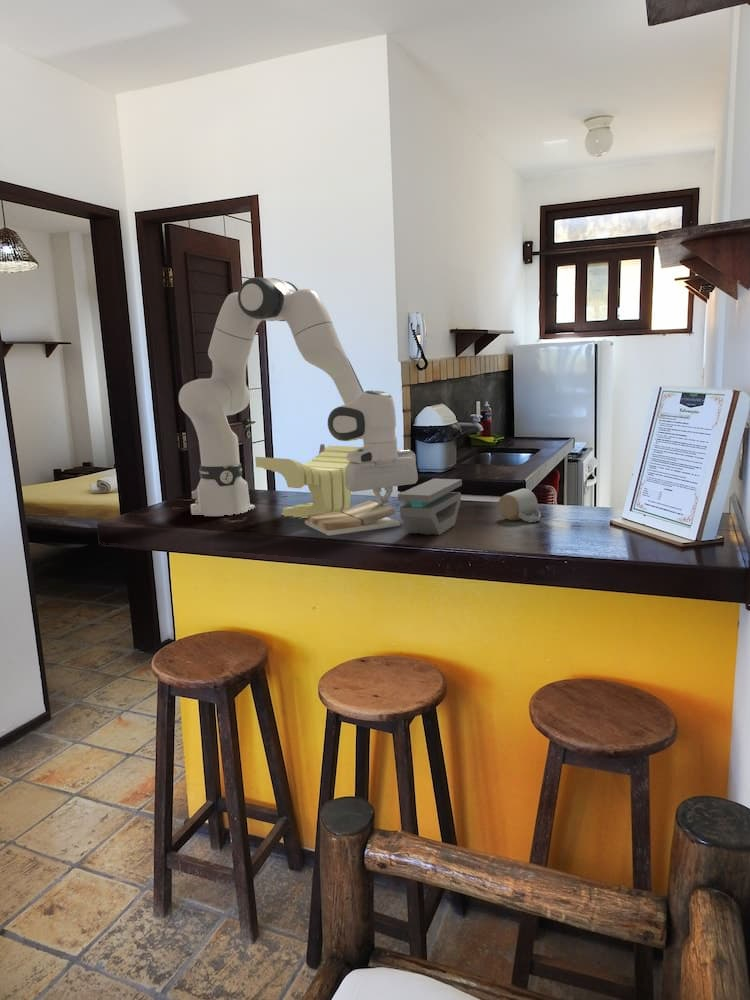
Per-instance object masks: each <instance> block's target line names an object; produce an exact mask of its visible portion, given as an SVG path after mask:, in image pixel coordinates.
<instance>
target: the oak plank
mask: <svg viewBox="0 0 750 1000" xmlns="http://www.w3.org/2000/svg"><path fill="white" fill-rule="evenodd" d="M307 520H308V521H309V522H311V523H313V524H315V525H317V526H319V527H322V528H324V529H326V530H328V531H331V530H338V529H345V528H352V527H360V526H361V520H359V519H356V518H354V517H351V516H349V515H346V514H344V513H341V512H332V513H324V514H316V515H308V519H307Z"/></svg>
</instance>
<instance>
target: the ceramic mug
mask: <svg viewBox="0 0 750 1000" xmlns="http://www.w3.org/2000/svg"><path fill="white" fill-rule="evenodd" d="M538 506H539V503H538V499H537V496H536V495H535V493H534V491H533V492H532V490H530V489H528V488H520V489H517V490H514V491H511V492H507V493H506V494H505V493H504V495H502V496H501V497H500V498H499V500H498V504H497V508H498V511H499V515H501V517H502V518H503V519H505V520H506V519H509V520H508V521H517V520H516V519H518V520H522V521H525V522H527V521H528V522H527V523H530V522H529V521H538V520H539V521H540V519H541V516H542V515H541V512H540V511H539V510H538ZM534 515H535V517H533V516H534ZM529 516H531V517H529ZM520 518H521V519H520ZM539 521H538V522H539Z"/></svg>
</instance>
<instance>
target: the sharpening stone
mask: <svg viewBox="0 0 750 1000" xmlns="http://www.w3.org/2000/svg"><path fill="white" fill-rule="evenodd" d="M462 485H463V479H459V478H458V479H457V478H432V479H429V480H428V481H425V482H423V483H420V484H417V485H416V486H413V487H410V488H409V489H406V490H405V491H402V492H400V493H398V494H397V501H399V502H408V503H405V504H404V505H401V506H400V507H399V510H400V512H399V513H400V515H399V516H400V518H401V520H402V522H403V523H404V525H405V527H406V529H407V531H408V532H409V534H417V533H420V534H419V535H421V534H422V535H431V534H434V536H441V535H443V534H444V533H445V532H446V530H447V531H448V530H450V529H451V528H452V526H453V527H454V526H455V524H456V520H457V517H458V512H459V509H460V505H461V500H462V496H461V495H462V494H461V492H456V491H455V492H453V491H454V490H455V489H458V488H459V487H462ZM449 528H450V529H449ZM443 532H444V533H443ZM440 534H441V535H440Z"/></svg>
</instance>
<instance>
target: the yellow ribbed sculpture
mask: <svg viewBox="0 0 750 1000" xmlns="http://www.w3.org/2000/svg"><path fill="white" fill-rule="evenodd" d="M361 447H362V446H348V445H347V446H345V445H342V446H341V445H327V446H325V449H324V452H321V453H320V454H319V453H318V454H317V456H318V457H316V456H315V457H313V458H312V459H311V460H310V461H307V462H305V463H304V464H303V463H301V462H300V461H297V460H294V459H290V458H280V457H279V458H277V457H266V456H265V457H264V456H263V457H262V456H255V457H254V458H255V467H256V468H262V469H263V470H268V471H271V472H274V473H278V474H280V475H281V476H282V477H283V478H284V480H285V482H286V485H287V488H292V489H301V488H303V487H304V486H305V485H306V486H307V487H308V489H309V492H310V493H311V496H312V498H313V499H312V502H305V503H301V504H297V505H292V506H289V507H284V508H282V513H281V515H284V516H283V517H287V516H294V517H293V518H295V517H302V518H308V515H316V514H324V513H332V512H341V511H343V510H345V509H348V508H351V494H352V491H349V490H348V489H347V488H346V484H345V473H346V467H347V465H348V463H350V462H349V461H348V460H347V454H349V453H351V452H353V451H355V450H357V449H359V448H361ZM302 518H301V519H302Z"/></svg>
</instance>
